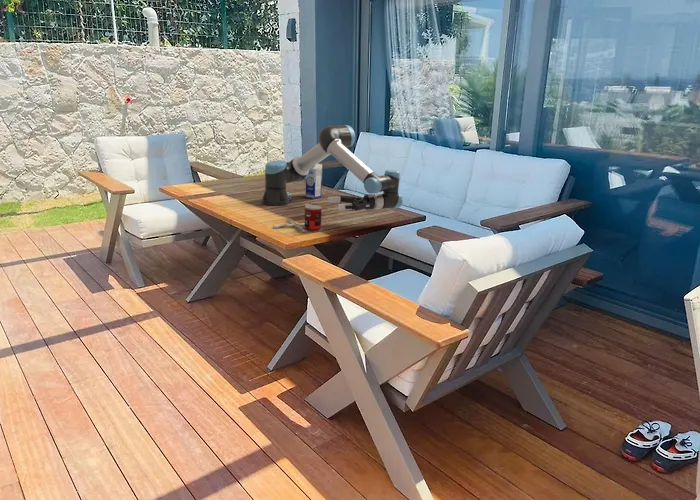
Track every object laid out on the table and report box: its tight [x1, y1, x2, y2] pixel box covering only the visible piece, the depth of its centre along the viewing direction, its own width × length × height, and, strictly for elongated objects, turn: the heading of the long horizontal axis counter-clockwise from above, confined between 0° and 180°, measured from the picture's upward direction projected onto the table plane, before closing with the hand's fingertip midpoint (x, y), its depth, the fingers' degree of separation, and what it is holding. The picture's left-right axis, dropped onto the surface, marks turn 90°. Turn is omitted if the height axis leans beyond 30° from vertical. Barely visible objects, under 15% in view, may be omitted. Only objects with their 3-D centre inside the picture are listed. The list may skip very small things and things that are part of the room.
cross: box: [272, 218, 324, 233], centre depth 265 cm, size 22×22×1 cm
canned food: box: [304, 204, 323, 231], centre depth 260 cm, size 8×8×11 cm
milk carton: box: [305, 163, 323, 200], centre depth 325 cm, size 7×7×20 cm
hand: (333, 203), depth 262 cm, fingers open, 13 cm apart
